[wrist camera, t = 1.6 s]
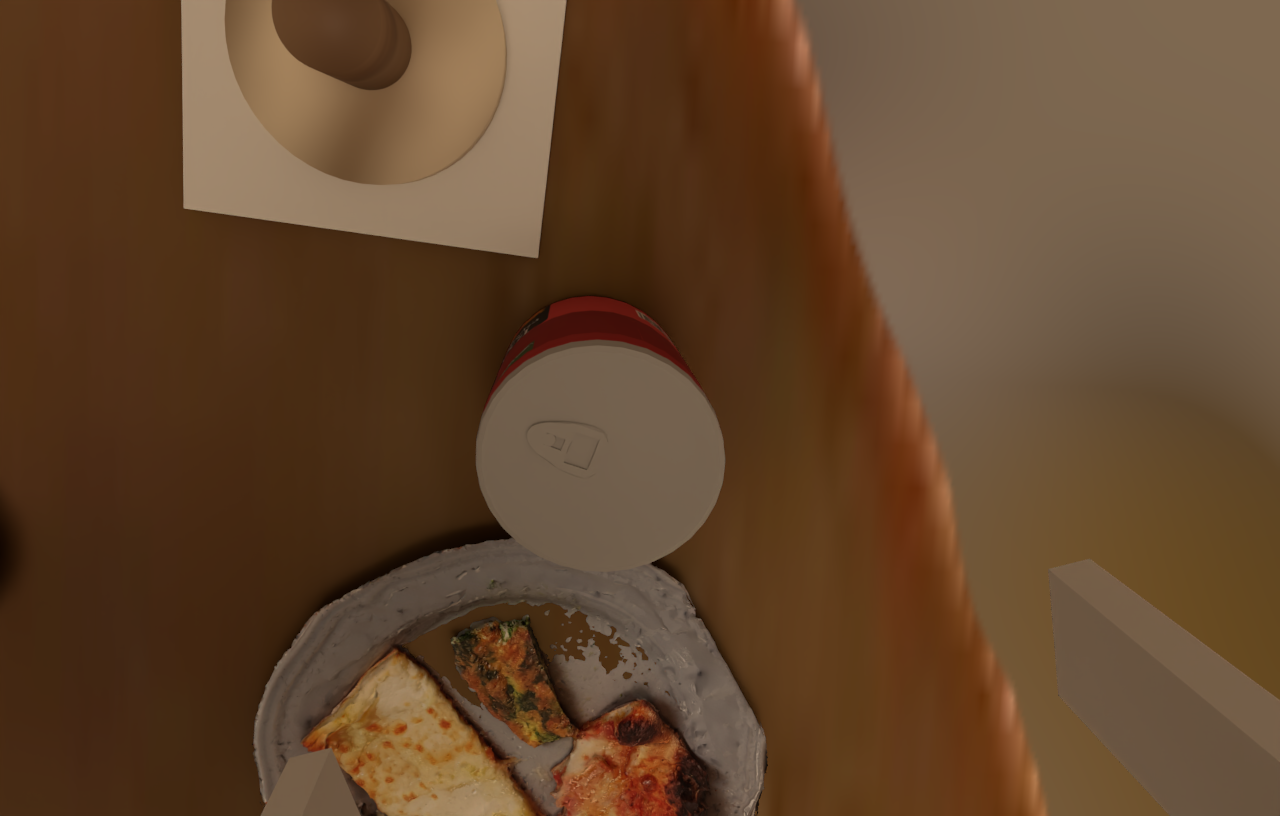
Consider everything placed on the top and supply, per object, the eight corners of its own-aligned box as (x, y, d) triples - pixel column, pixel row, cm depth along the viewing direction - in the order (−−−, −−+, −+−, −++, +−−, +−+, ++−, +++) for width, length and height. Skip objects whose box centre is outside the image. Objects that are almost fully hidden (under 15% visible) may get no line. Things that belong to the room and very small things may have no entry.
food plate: (820, 823, 43) (840, 877, 39) (452, 991, 44) (440, 1057, 41) (612, 442, 36) (615, 468, 33) (189, 656, 38) (149, 701, 34)
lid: (237, 163, 30) (156, 159, 24) (239, -126, 28) (148, -210, 22) (494, 202, 32) (476, 206, 26) (519, -72, 29) (506, -138, 23)
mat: (191, 207, 31) (183, 208, 31) (187, -195, 27) (178, -204, 27) (538, 256, 33) (537, 258, 32) (579, -117, 29) (579, -122, 29)
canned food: (508, 283, 33) (480, 331, 23) (691, 302, 34) (745, 357, 24) (497, 451, 35) (465, 566, 25) (669, 465, 36) (710, 582, 26)
